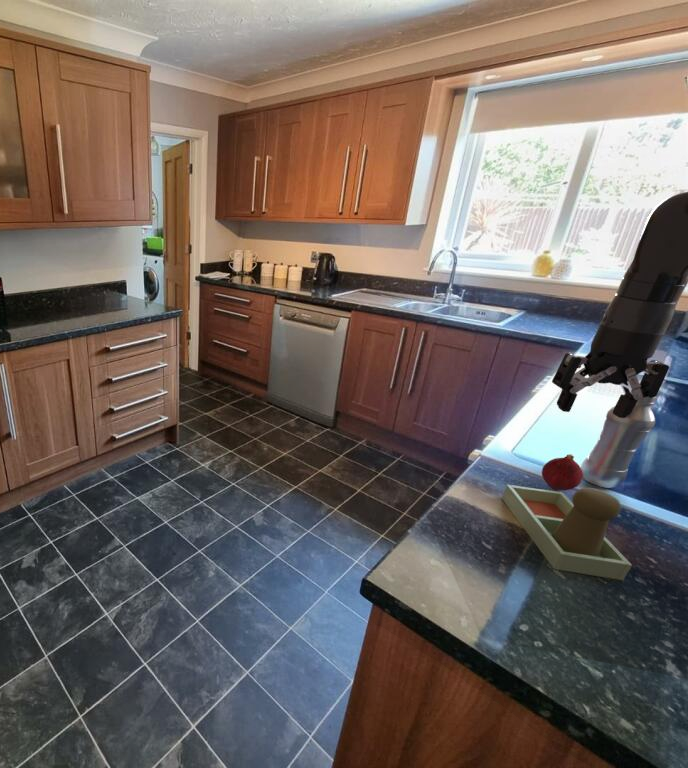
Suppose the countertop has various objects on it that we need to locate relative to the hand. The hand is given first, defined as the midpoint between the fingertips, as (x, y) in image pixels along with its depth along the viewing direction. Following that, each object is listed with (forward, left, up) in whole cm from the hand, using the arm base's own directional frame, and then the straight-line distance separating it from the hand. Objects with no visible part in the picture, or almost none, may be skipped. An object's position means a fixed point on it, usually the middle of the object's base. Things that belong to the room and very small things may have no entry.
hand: (590, 413), depth 76 cm
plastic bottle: (-10, -5, -17) cm, 21 cm away
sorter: (+7, +14, -17) cm, 23 cm away
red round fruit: (0, 0, -17) cm, 17 cm away
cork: (+7, +18, -17) cm, 25 cm away
